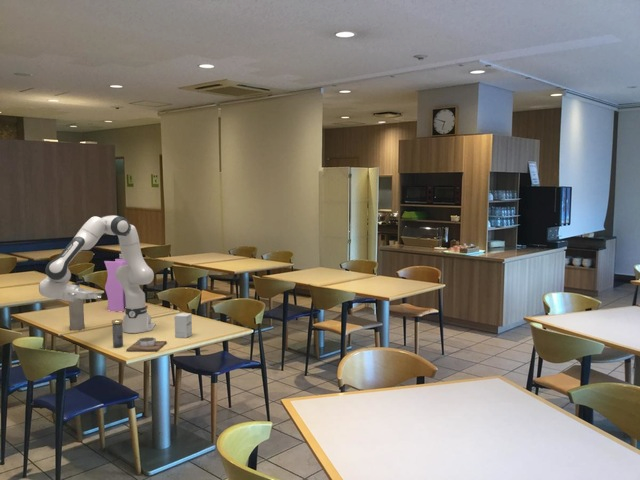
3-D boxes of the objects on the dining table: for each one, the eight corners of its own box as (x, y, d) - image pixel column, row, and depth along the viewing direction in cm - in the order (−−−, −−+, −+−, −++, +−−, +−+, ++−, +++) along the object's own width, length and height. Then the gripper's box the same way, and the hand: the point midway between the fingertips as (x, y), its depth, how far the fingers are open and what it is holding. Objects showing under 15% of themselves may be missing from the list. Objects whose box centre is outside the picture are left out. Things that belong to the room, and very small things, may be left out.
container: (118, 307, 392) (116, 258, 389) (134, 308, 389) (133, 259, 386) (105, 311, 379) (103, 261, 376) (123, 312, 375) (121, 261, 372)
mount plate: (137, 343, 299) (137, 340, 298) (166, 343, 298) (166, 341, 298) (126, 351, 283) (126, 349, 282) (156, 351, 282) (156, 349, 282)
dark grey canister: (115, 345, 295) (114, 319, 294) (125, 345, 295) (124, 319, 293) (110, 348, 289) (109, 321, 288) (121, 348, 289) (120, 321, 288)
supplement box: (186, 338, 308) (186, 316, 307) (174, 337, 310) (174, 315, 309) (192, 334, 315) (191, 313, 314) (180, 334, 317) (180, 312, 316)
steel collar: (141, 342, 295) (141, 337, 294) (157, 342, 294) (157, 337, 294) (135, 347, 286) (135, 341, 286) (152, 347, 286) (152, 341, 285)
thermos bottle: (77, 327, 335) (76, 281, 332) (87, 328, 331) (85, 282, 329) (67, 330, 327) (64, 283, 325) (76, 331, 324) (74, 284, 322)
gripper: (68, 287, 277) (96, 291, 280) (77, 286, 297) (104, 290, 300) (65, 299, 277) (93, 303, 279) (75, 298, 297) (101, 302, 299)
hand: (99, 297), depth 290 cm, fingers open, 8 cm apart
